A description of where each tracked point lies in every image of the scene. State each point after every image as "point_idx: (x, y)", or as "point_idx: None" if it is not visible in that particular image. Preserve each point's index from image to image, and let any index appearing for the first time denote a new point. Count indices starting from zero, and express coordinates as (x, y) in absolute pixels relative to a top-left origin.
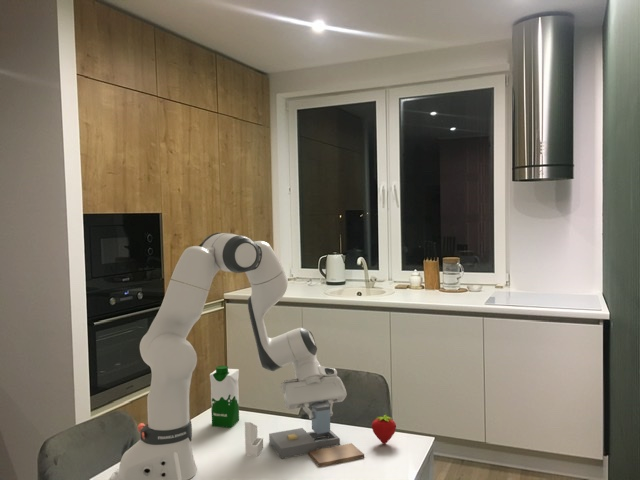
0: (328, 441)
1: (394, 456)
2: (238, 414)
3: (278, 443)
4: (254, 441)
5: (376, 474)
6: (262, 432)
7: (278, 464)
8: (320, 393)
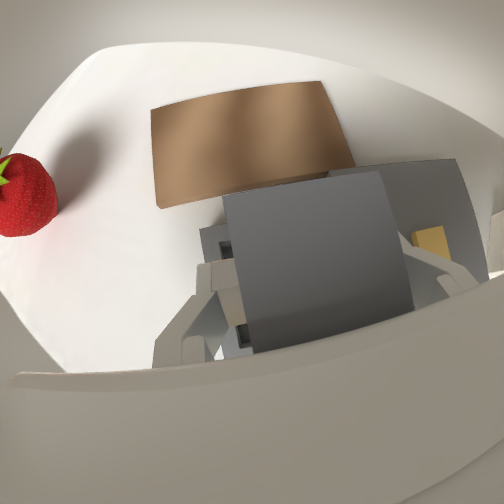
0: None
1: (74, 122)
2: None
3: (469, 205)
4: None
5: (169, 42)
6: None
7: (437, 142)
8: (327, 432)
